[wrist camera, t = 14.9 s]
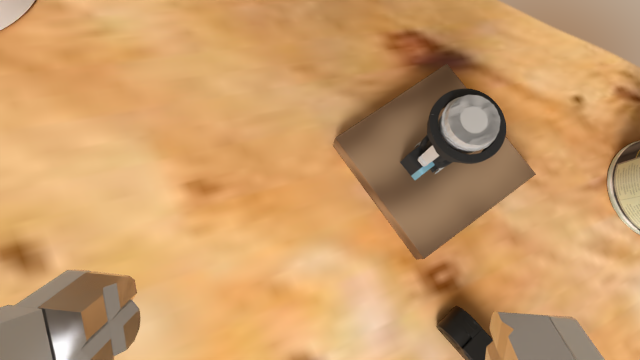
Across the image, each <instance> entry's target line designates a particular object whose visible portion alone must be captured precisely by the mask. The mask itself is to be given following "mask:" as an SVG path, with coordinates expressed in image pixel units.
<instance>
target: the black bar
mask: <svg viewBox="0 0 640 360" xmlns="http://www.w3.org/2000/svg"><path fill="white" fill-rule="evenodd" d="M437 328H438V330H439V331H440V332H441V333H442V334H443V335H444V337H445V338H446V339H447V340H448V341H449V342H450V343H451V344H452V345H453V347H454V348H455V349H456V350H457V351H458V352H459V353H460V354H461V355H462V357H463V358H464V359H465V360H485V356H486V347H487V346H488V345H489V344H490V343H491V342H493V339H492V338H491V337H490V336H489V335H488V334H487V333H486V332H485V331H484V330H483V329H482V327H481V326H480V325H479V324H478V323H477V322H476V321H475V320H474V319H473V318H472V317H471V316H470V315H469V314H468V313H467V312H466V311H464V310H463V309H462V308H460V307H458V306H455V307H454V308H453V309H452V310H451V311H450V312H449V313H448V314H447V315H446V316H445V317H444V318H443V319H442V320H441V321H440V322H439V323H438V324H437Z"/></svg>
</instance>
